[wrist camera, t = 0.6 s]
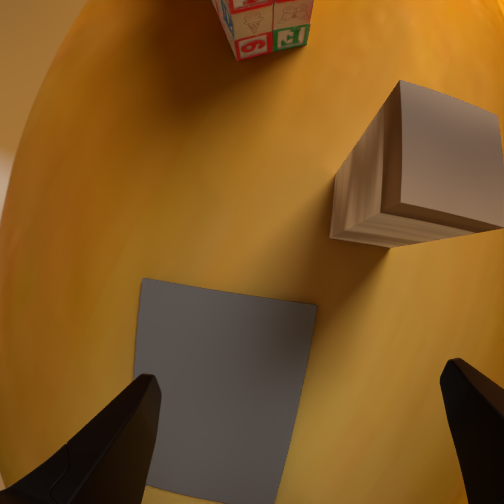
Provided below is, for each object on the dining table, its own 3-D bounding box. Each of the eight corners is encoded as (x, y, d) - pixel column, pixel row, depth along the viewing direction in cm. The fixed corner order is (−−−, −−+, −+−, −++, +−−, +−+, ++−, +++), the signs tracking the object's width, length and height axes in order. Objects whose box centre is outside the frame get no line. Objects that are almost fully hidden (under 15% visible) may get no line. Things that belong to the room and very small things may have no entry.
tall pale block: (390, 247, 21) (505, 227, 9) (328, 238, 22) (400, 202, 9) (395, 185, 21) (497, 115, 9) (335, 173, 22) (399, 79, 9)
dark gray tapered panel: (272, 504, 21) (272, 509, 20) (135, 477, 21) (133, 480, 21) (315, 304, 21) (317, 305, 21) (145, 278, 22) (142, 278, 21)
